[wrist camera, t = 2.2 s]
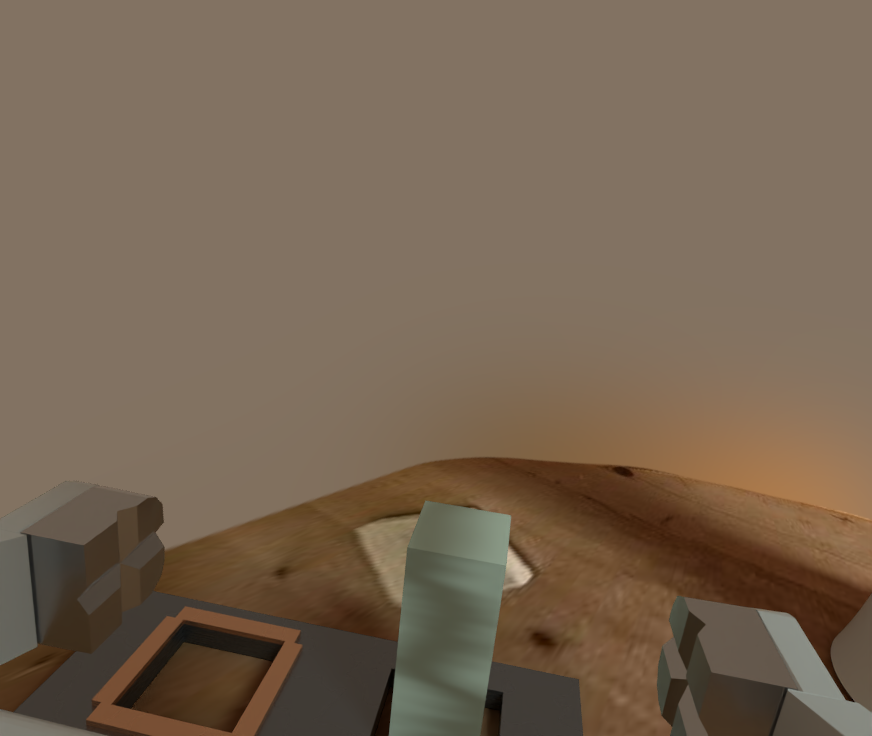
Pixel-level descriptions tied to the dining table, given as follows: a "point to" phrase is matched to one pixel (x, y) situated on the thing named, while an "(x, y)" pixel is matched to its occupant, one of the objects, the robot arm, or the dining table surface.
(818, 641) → the dining table surface
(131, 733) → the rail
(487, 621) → the peg
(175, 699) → the dining table surface
